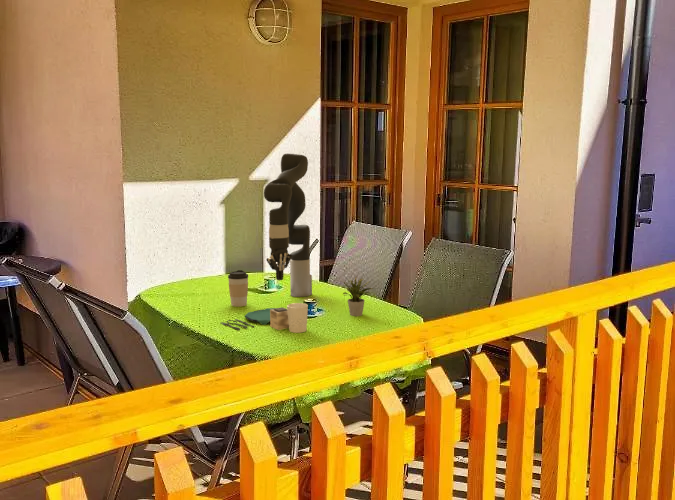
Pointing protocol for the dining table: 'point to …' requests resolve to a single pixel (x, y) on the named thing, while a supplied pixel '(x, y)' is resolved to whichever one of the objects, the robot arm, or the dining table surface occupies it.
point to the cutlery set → (253, 318)
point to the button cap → (280, 309)
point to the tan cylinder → (297, 317)
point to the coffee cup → (238, 288)
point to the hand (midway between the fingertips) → (279, 279)
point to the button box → (279, 319)
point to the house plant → (356, 298)
